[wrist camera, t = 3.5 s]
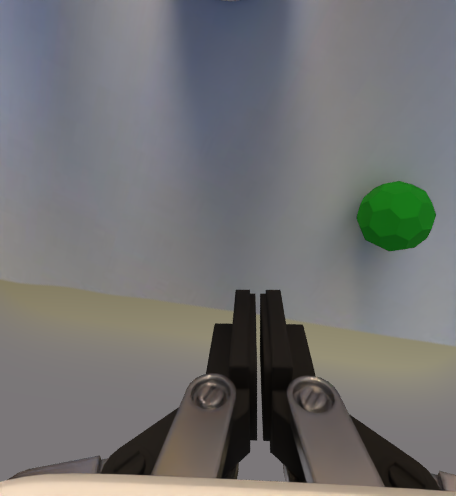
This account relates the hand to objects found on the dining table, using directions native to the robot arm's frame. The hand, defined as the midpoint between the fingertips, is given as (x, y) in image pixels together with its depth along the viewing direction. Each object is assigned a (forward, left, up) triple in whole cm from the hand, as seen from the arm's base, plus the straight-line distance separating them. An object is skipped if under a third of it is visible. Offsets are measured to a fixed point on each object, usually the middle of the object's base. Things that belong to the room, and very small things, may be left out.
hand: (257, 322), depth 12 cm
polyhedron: (+7, +7, -15) cm, 18 cm away
